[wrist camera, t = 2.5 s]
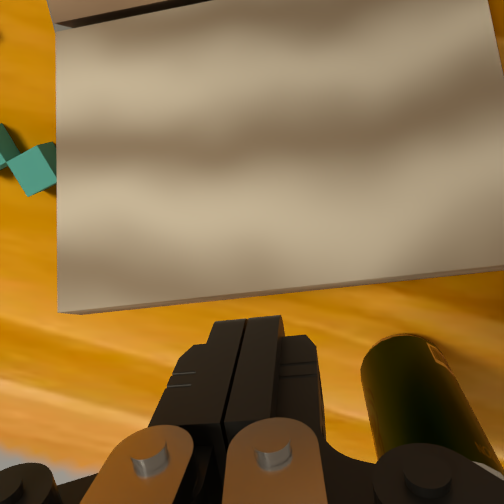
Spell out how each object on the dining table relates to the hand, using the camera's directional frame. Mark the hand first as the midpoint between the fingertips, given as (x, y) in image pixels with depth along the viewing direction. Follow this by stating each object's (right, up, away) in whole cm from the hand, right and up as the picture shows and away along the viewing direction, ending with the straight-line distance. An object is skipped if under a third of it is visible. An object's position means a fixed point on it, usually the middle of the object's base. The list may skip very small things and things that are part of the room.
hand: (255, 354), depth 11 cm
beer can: (+10, -5, +20) cm, 23 cm away
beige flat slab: (+1, +7, +12) cm, 14 cm away
